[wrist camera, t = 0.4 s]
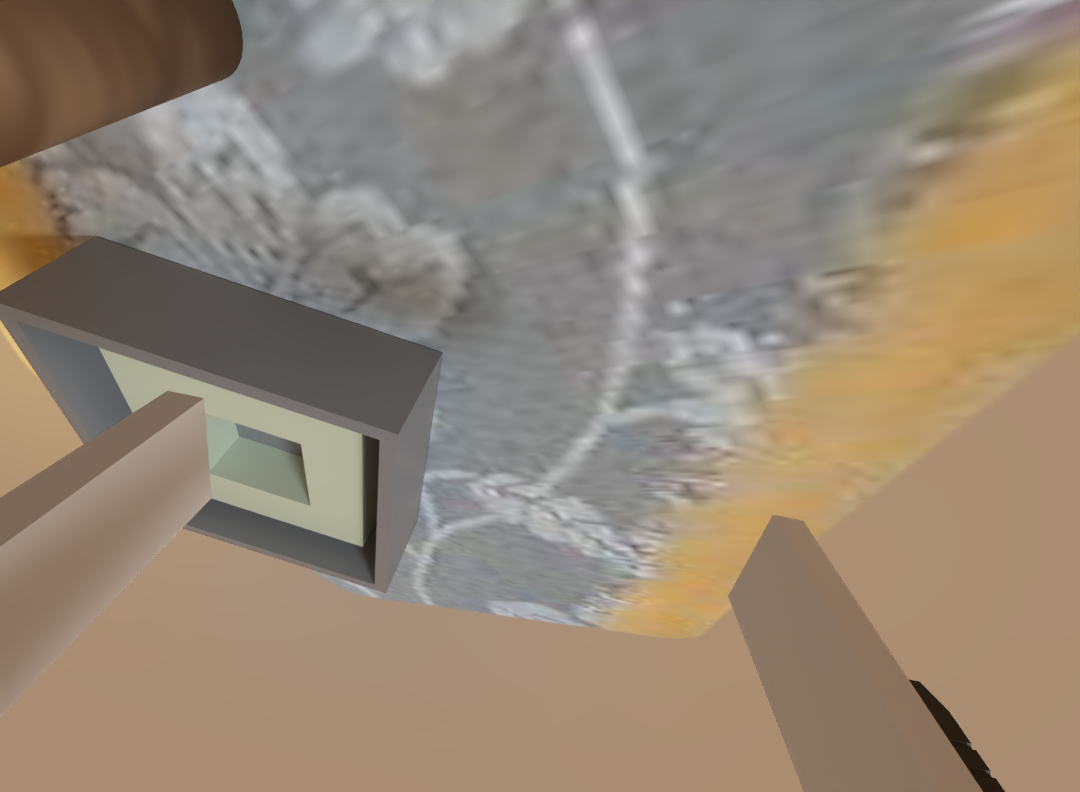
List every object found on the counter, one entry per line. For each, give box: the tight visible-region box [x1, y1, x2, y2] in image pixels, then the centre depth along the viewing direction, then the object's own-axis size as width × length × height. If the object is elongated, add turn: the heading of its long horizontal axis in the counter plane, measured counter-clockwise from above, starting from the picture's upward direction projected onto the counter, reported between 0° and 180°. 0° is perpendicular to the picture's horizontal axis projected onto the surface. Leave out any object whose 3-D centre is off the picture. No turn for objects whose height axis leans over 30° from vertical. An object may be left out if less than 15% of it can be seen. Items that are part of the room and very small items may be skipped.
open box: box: [0, 236, 442, 593], centre depth 29 cm, size 18×18×6 cm
